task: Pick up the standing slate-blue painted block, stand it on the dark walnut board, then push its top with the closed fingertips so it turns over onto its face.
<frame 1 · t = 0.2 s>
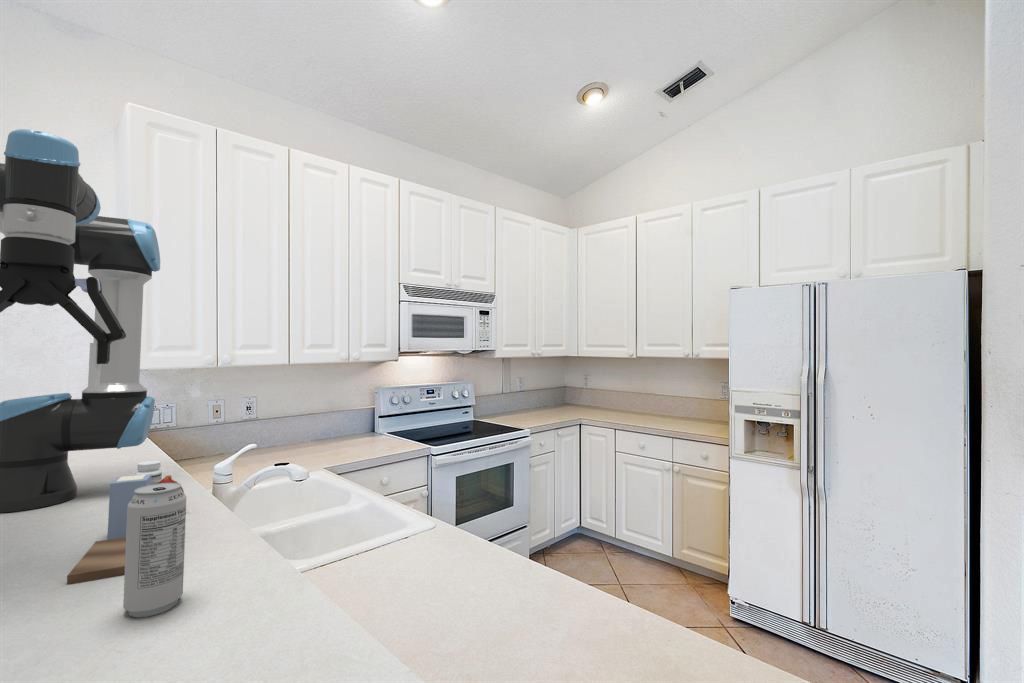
hand: (31, 387, 67), 27 cm above the table, tool pointing down, fingers open, 13 cm apart
board: (128, 557, 73), on the table
energy drink can: (153, 608, 59), on the table
block: (129, 535, 83), on the table
red oval piece: (165, 516, 93), on the table
pill bottle: (147, 501, 103), on the table
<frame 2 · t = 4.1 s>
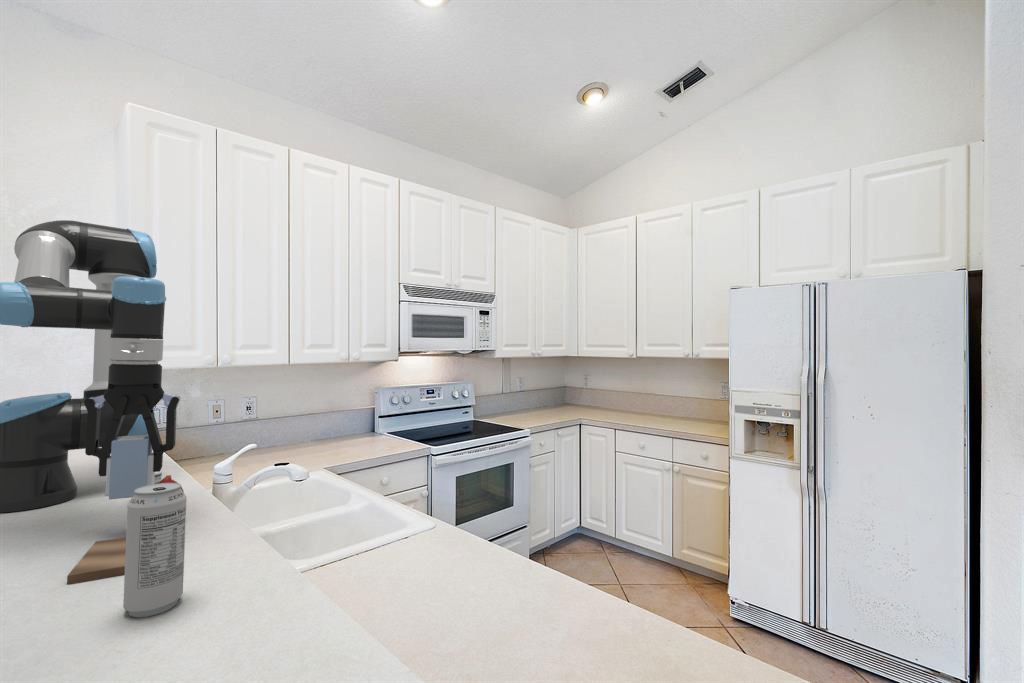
hand: (130, 491, 84), 8 cm above the table, tool pointing down, fingers closed on block, 5 cm apart
block: (130, 493, 84), point 7 cm above the table, touching gripper
everything else where it was.
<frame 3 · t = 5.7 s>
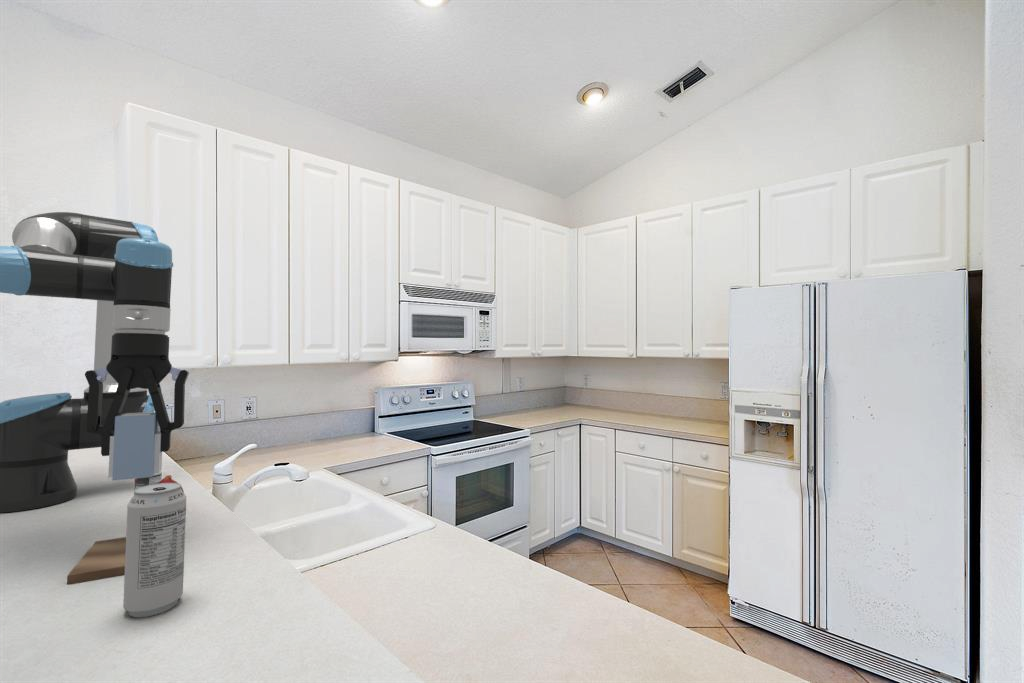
hand: (135, 473, 76), 13 cm above the table, tool pointing down, fingers closed on block, 5 cm apart
block: (135, 475, 76), point 12 cm above the table, touching gripper
everything else where it was.
when the fingers open (2 cm above the table, at t = 7.7 s): block stays where it is, resting on board.
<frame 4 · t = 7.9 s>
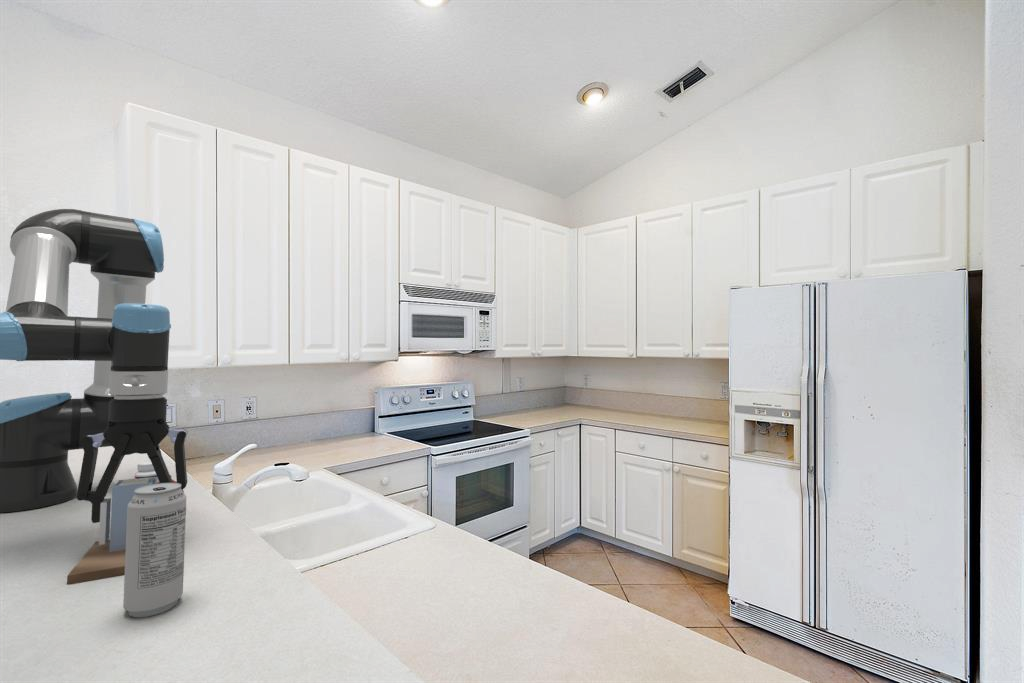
hand: (133, 537, 76), 2 cm above the table, tool pointing down, fingers open, 7 cm apart
block: (132, 543, 76), point 1 cm above the table, touching board
everything else where it was.
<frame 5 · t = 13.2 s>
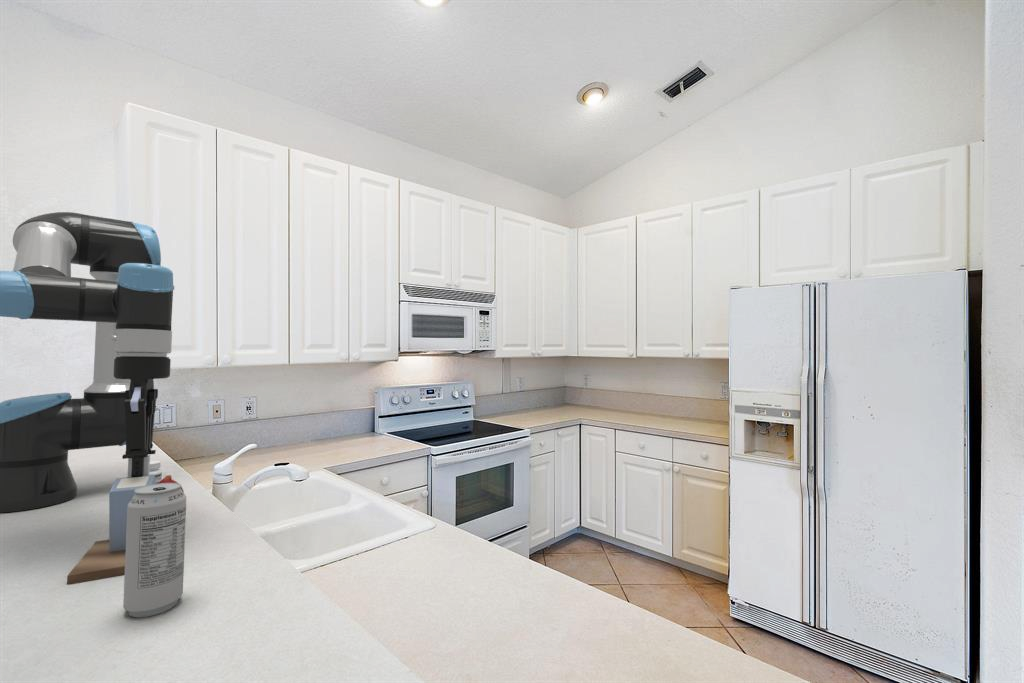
hand: (137, 495, 78), 9 cm above the table, tool pointing down, fingers closed
block: (133, 540, 76), point 2 cm above the table, tilted 12°, touching board, gripper
everything else where it was.
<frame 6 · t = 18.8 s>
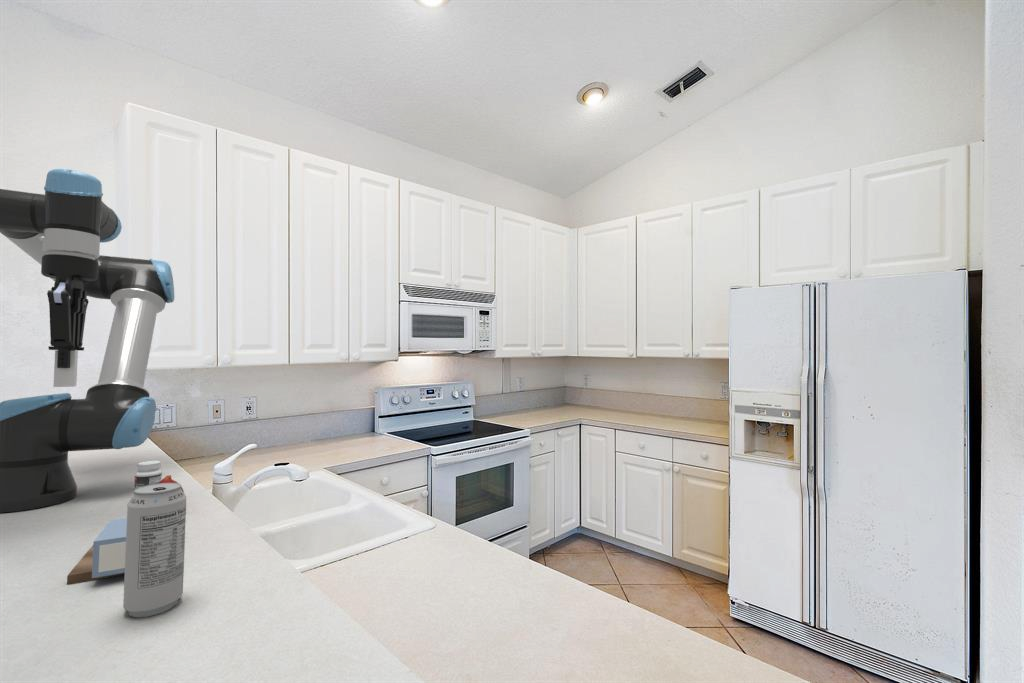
hand: (65, 386, 84), 26 cm above the table, tool pointing down, fingers closed
block: (130, 533, 74), point 4 cm above the table, tilted 90°, touching board
everything else where it was.
at the end: block tilted 90°; block inside the target area (5.4 cm from its centre), point 3.7 cm above the table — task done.
